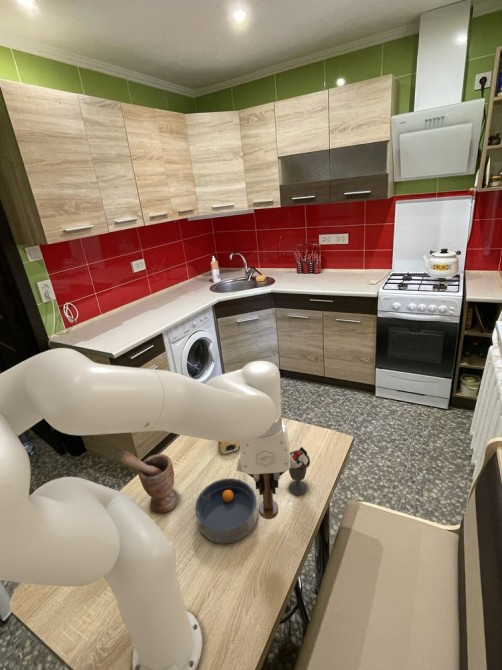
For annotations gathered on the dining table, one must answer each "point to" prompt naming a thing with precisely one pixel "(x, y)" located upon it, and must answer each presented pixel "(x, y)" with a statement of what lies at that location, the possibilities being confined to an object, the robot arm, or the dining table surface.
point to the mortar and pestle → (155, 479)
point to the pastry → (228, 446)
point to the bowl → (226, 511)
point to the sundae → (299, 471)
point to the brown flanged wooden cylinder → (267, 498)
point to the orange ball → (227, 495)
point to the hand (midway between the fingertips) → (267, 488)
